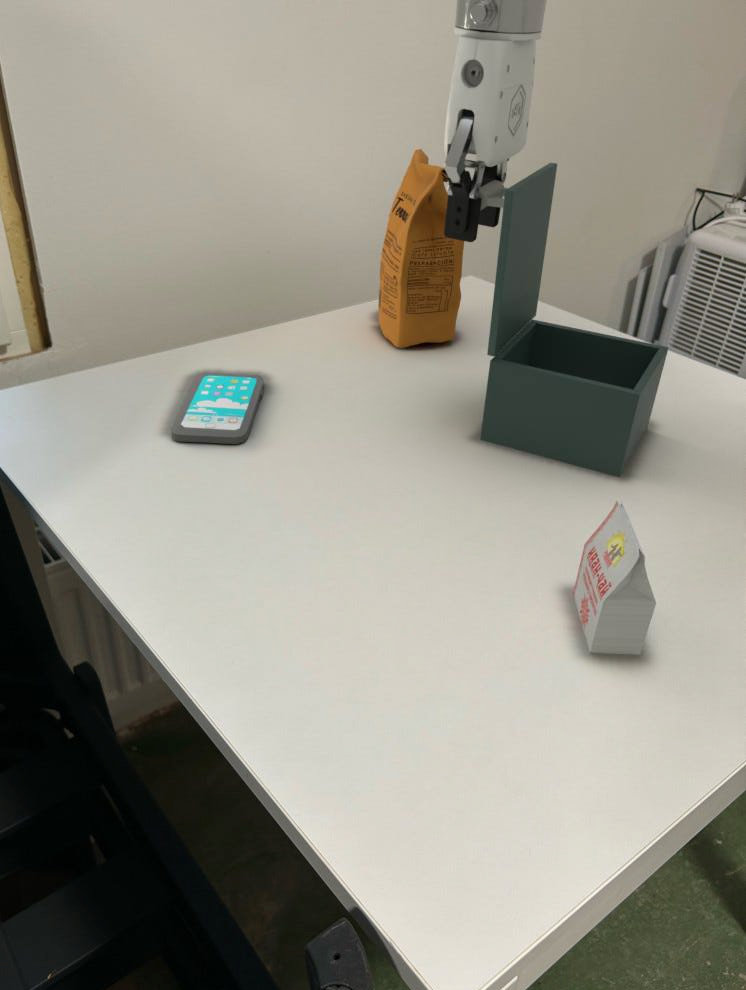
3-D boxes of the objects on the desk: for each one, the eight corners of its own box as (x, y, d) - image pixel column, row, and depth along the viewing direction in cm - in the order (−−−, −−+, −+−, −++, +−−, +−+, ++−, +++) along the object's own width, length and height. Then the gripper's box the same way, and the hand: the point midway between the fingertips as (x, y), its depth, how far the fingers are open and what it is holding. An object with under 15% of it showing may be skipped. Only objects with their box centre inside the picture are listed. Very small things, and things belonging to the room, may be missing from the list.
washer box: (646, 431, 90) (668, 346, 84) (617, 484, 81) (639, 394, 76) (519, 399, 96) (532, 318, 90) (479, 447, 87) (490, 360, 81)
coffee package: (439, 313, 117) (453, 145, 104) (462, 348, 108) (481, 168, 94) (370, 316, 116) (376, 146, 103) (387, 352, 106) (396, 169, 93)
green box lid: (557, 163, 81) (503, 157, 83) (513, 191, 72) (454, 183, 74) (536, 315, 90) (487, 306, 92) (494, 357, 81) (442, 346, 83)
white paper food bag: (616, 603, 67) (645, 501, 61) (637, 663, 62) (670, 557, 56) (571, 602, 67) (594, 499, 61) (587, 661, 62) (615, 555, 56)
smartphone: (165, 432, 86) (195, 370, 98) (166, 440, 87) (196, 378, 99) (246, 436, 86) (267, 374, 98) (247, 444, 87) (267, 381, 99)
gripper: (505, 27, 64) (473, 262, 75) (571, 13, 76) (535, 218, 87) (417, 18, 66) (399, 246, 77) (494, 6, 78) (469, 205, 89)
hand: (471, 229), depth 82 cm, fingers closed on green box lid, 5 cm apart
